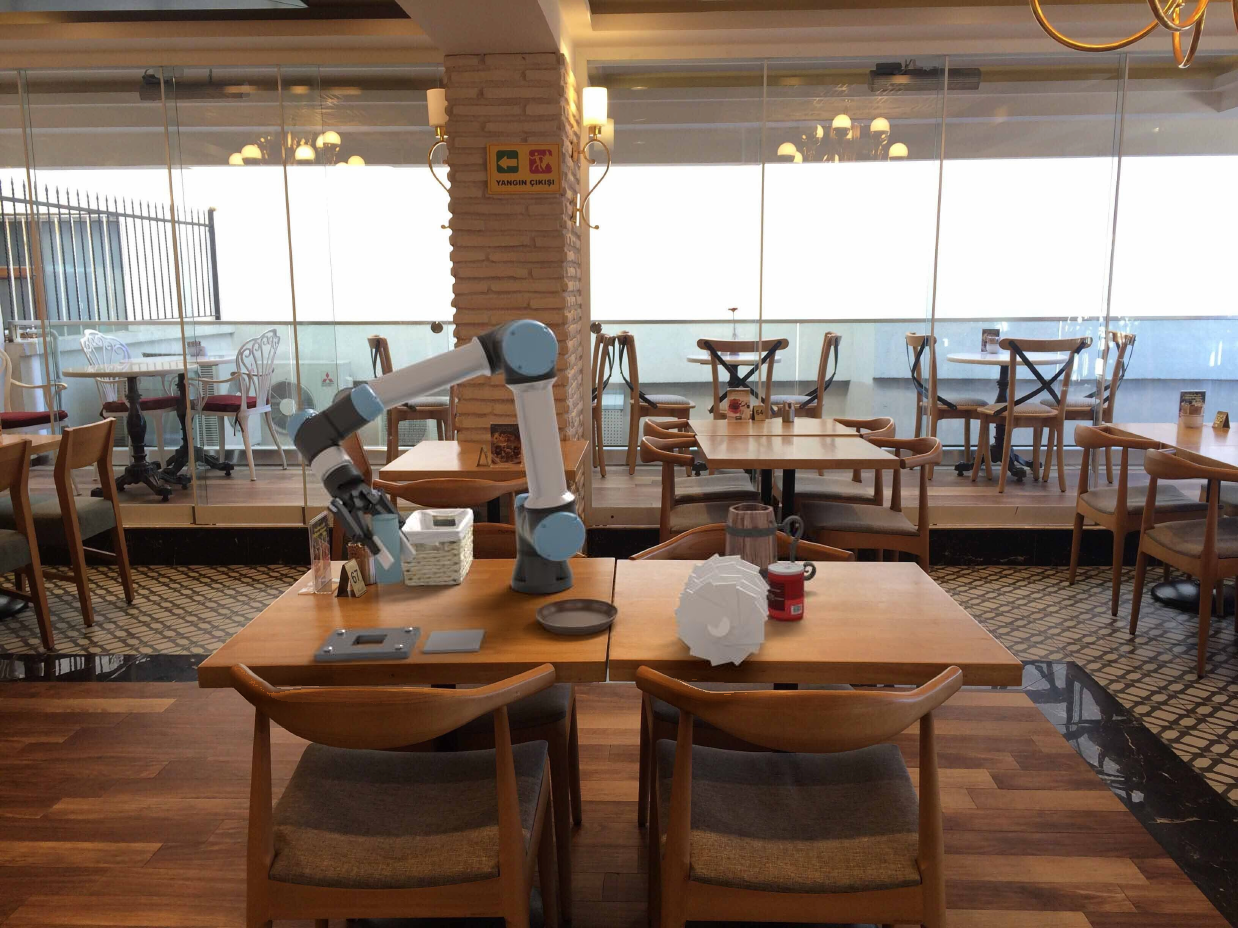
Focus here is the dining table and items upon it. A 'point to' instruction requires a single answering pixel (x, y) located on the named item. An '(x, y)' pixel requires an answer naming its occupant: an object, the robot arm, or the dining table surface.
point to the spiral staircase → (723, 610)
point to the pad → (453, 641)
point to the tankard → (759, 537)
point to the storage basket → (438, 547)
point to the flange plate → (345, 642)
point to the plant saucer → (577, 616)
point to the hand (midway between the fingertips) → (401, 561)
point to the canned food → (786, 591)
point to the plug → (388, 547)
